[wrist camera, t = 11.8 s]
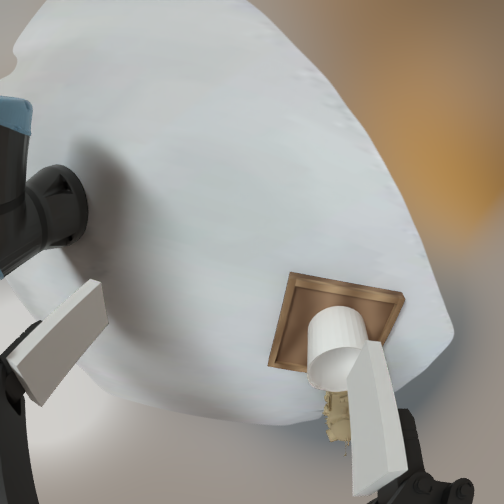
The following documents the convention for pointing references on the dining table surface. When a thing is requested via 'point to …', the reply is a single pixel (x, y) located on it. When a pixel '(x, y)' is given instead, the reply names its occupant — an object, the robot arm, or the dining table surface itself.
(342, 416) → the robot
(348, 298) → the tray
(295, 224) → the dining table surface
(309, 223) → the dining table surface
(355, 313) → the mug
